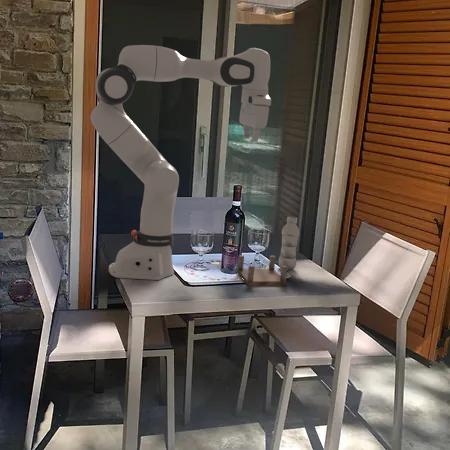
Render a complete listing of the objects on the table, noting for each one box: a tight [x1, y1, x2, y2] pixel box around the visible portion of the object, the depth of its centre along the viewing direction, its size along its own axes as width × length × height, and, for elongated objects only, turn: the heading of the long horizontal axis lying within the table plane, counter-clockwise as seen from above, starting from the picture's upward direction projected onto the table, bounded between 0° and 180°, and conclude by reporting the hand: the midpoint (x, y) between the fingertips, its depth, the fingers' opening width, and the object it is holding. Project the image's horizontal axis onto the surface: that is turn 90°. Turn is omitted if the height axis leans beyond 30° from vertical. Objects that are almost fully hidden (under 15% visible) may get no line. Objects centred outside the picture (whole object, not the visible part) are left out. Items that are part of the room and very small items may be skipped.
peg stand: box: [236, 254, 288, 287], centre depth 203 cm, size 14×14×6 cm
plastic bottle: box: [277, 216, 300, 271], centre depth 215 cm, size 6×7×20 cm
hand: (250, 139), depth 198 cm, fingers open, 8 cm apart
